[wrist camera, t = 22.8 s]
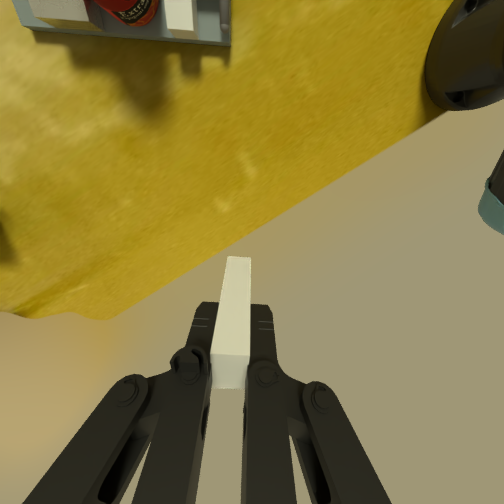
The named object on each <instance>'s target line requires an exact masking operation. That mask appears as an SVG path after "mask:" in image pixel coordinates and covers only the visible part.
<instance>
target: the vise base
mask: <svg viewBox="0 0 504 504" xmlns="http://www.w3.org/2000/svg"><path fill="white" fill-rule="evenodd" d="M12 2H13V4H14V7H15V9H16V12H17V15H18V17H19V20H20V22H21V25H22V26H24V27H26V28H29V29H31V30H35V31H47V32H59V33H72V34H84V35H96V36H108V37H120V38H133V39H145V40H157V41H169V42H181V43H194V44H206V45H218V46H230V47H231V0H159V4H158V8H157V11H156V14H155V16H154V17H153V19H152V20H151V21H150V22H149V23H148V24H146V25H144V26H129V25H126V24H124V23H122V22H120V21H118V20H117V19H116V18H115V17H113V16H112V15H111V14H110V13H108V12H107V11H106V10H104V9H103V8H102V7H101V6H99V8H100V13H101V17H102V21H103V25H104V29H105V32H99V31H86V30H74V29H62V28H55V27H53V26H51V25H49V24H47V23H45V22H43V21H41V20H39V19H37V18H35V17H34V15H33V12H32V9H31V7H30V4H29V1H28V0H12Z"/></svg>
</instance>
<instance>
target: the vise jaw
mask: <svg viewBox="0 0 504 504" xmlns="http://www.w3.org/2000/svg"><path fill="white" fill-rule="evenodd" d="M28 1H29V4H30V7H31V9H32V12H33V15H34V17H35V18H37V19H39V20H41V21H43V22H45V23H47V24H49V25H51V26H53V27H55V28H62V29H74V30H86V31H99V32H105V29H104V25H103V21H102V17H101V13H100V8H99V5H98V4H97V3H96V2H94V1H93V0H28Z"/></svg>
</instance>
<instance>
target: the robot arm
mask: <svg viewBox="0 0 504 504" xmlns="http://www.w3.org/2000/svg"><path fill="white" fill-rule="evenodd" d="M425 81H426V87H427V91H428V93H429V96H430V97H431V99H432V100H433V102H434V103H435V104H436V105H438V106H439V107H441V108H443V109H445V110H450V111H460V110H461V111H462V110H473V109H477V108H481V107H485V106H488V105H490V104H492V103H495V102H497V101H500V100H502V99H504V0H454V1H453V2H452V4H451V5H450V7H449V8H448V10H447V11H446V13H445V14H444V16H443V18H442V20H441V22H440V23H439V25H438V27H437V30H436V32H435V34H434V36H433V39H432V42H431V45H430V48H429V51H428V55H427V60H426V68H425ZM478 212H479V214H480V216H481V217H482V219H483V221H484V222H485V223H486V224H487V225H488V226H490V227H491V228H493V229H494V230H496V231H498V232H499V233H501V234H503V235H504V150H503V152H502V154H501V156H500V158H499V160H498V162H497V164H496V166H495V168H494V170H493V172H492V174H491V176H490V177H489V178H488V179H487V180H486V183H485V191H484V193H483V195H482V198H481V200H480V202H479V205H478ZM250 291H251V258H248V257H234V256H228V260H227V265H226V270H225V275H224V281H223V287H222V292H221V297H220V302H219V303H218V302H202V303H201V304H200V305H199V307H198V308H197V309H196V312H195V315H194V319H193V322H192V326H191V329H190V332H189V335H188V339H187V342H186V345H185V347H184V348H181V349H180V350H179V351H177V352H176V353H175V354H174V355H173V357H172V359H171V360H170V365H171V369H170V370H169V371H167V372H165V373H162V374H159V375H156V376H152V377H149V378H145V377H143V376H142V375H139V374H133V375H129V376H125V377H124V378H122V379H121V380H119V381H117V382H116V384H115V385H114V386H113V387H112V388H111V389H110V390H109V391H108V393H107V394H106V395H105V396H104V398H103V399H102V401H101V402H100V403H99V404H98V406H97V407H96V408H95V410H94V411H93V412H92V413H91V415H90V416H89V417H88V419H87V420H86V421H85V423H84V424H83V425H82V427H81V428H80V429H79V430H78V432H77V433H76V434H75V436H74V437H73V438H72V440H71V441H70V442H69V444H68V445H67V446H66V447H65V449H64V450H63V451H62V453H61V454H60V455H59V457H58V458H57V459H56V460H55V462H54V463H53V464H52V466H51V467H50V468H49V470H48V471H47V472H46V473H45V475H44V476H43V477H42V479H41V480H40V482H39V483H38V484H37V485H36V487H35V488H34V489H33V490H32V492H31V493H30V494H29V496H28V497H27V498H26V500H25V501H24V502H23V503H22V504H119V503H120V501H121V499H122V497H123V495H124V493H125V491H126V489H127V487H128V485H129V483H130V481H131V479H132V477H133V476H134V474H135V471H136V470H137V468H138V466H139V463H140V462H141V460H142V458H143V456H144V454H145V451H146V450H147V448H148V446H149V444H150V442H151V444H150V447H149V450H148V453H147V456H146V460H145V463H144V466H143V469H142V472H141V476H140V478H139V481H138V485H137V488H136V491H135V494H134V497H133V501H132V504H195V501H196V494H197V488H198V481H199V475H200V468H201V461H202V454H203V447H204V441H205V434H206V427H207V421H208V413H209V407H210V393H211V387H212V388H227V389H245V402H244V408H243V413H244V418H243V450H242V480H241V481H242V482H241V504H297V501H296V492H295V483H294V475H293V466H292V458H291V449H290V441H289V435H290V436H291V437H292V440H293V443H294V446H295V450H296V453H297V456H298V459H299V463H300V466H301V469H302V473H303V476H304V479H305V482H306V486H307V489H308V492H309V495H310V499H311V502H312V504H392V503H391V501H390V499H389V498H388V496H387V494H386V492H385V490H384V488H383V486H382V484H381V482H380V480H379V478H378V476H377V474H376V472H375V470H374V468H373V466H372V464H371V462H370V460H369V458H368V457H367V455H366V453H365V451H364V449H363V447H362V445H361V443H360V441H359V439H358V437H357V435H356V433H355V431H354V429H353V427H352V425H351V423H350V422H349V419H348V418H347V416H346V414H345V412H344V410H343V408H342V406H341V404H340V402H339V400H338V398H337V396H336V395H335V393H334V392H333V391H332V389H331V388H329V387H328V386H327V385H326V384H324V383H321V382H318V381H316V382H315V381H312V382H310V383H308V384H305V383H302V382H300V381H297V380H295V379H293V378H291V377H289V376H288V375H286V374H285V373H284V372H283V370H282V369H281V368H280V366H279V364H278V360H277V353H276V343H275V334H274V324H273V315H272V312H271V310H270V308H269V306H268V305H260V304H250V296H251V295H250V293H251V292H250ZM151 440H152V441H151Z"/></svg>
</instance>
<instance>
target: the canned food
mask: <svg viewBox="0 0 504 504" xmlns="http://www.w3.org/2000/svg"><path fill="white" fill-rule="evenodd" d="M93 1H94V2H96V3H97V4H98V5H99V6H101V7H102V8H103V9H104V10H106V11H107V12H108V13H110V14H111V15H112V16H113V17H115V18H116V19H117V20H118V21H120V22H122V23H124V24H126V25H129V26H144V25H146V24H148V23H149V22H150V21H151V20H152V19H153V17H154V16H155V14H156V11H157V8H158V4H159V0H93Z"/></svg>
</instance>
